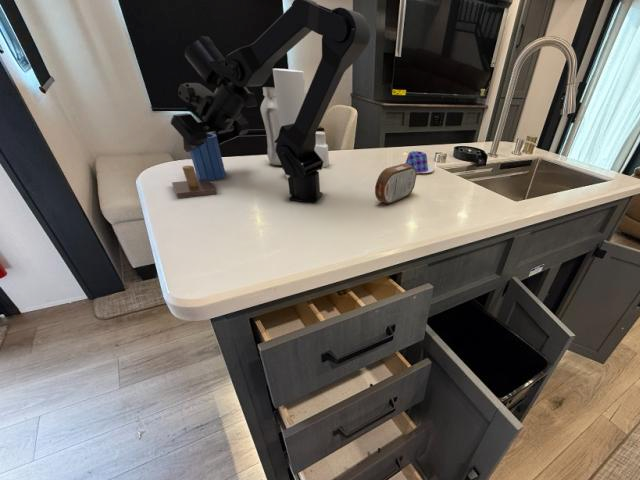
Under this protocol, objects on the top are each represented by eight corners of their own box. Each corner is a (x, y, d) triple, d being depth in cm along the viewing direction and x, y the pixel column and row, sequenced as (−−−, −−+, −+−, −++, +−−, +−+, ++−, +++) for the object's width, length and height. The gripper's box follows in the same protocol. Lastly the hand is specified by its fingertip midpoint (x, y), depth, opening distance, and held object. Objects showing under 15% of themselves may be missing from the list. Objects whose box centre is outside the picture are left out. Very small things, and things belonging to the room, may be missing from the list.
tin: (407, 191, 91) (410, 159, 86) (416, 194, 89) (420, 162, 84) (373, 205, 80) (374, 170, 75) (383, 208, 79) (385, 173, 74)
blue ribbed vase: (230, 174, 89) (221, 134, 83) (217, 181, 84) (206, 139, 78) (206, 171, 89) (195, 131, 83) (191, 178, 84) (179, 136, 78)
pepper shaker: (326, 168, 101) (325, 134, 95) (314, 166, 101) (311, 133, 95) (329, 164, 104) (327, 132, 99) (316, 163, 104) (314, 130, 98)
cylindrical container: (317, 177, 94) (310, 72, 78) (298, 182, 89) (287, 71, 73) (299, 171, 96) (289, 69, 81) (280, 176, 91) (266, 68, 76)
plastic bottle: (277, 169, 96) (267, 89, 84) (264, 163, 99) (251, 86, 87) (295, 165, 100) (287, 89, 88) (281, 160, 103) (272, 86, 91)
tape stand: (209, 183, 82) (203, 160, 79) (216, 194, 77) (210, 170, 74) (173, 187, 78) (165, 163, 75) (178, 198, 73) (169, 173, 70)
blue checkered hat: (416, 162, 115) (417, 147, 112) (441, 172, 109) (443, 155, 106) (391, 167, 109) (392, 150, 105) (416, 177, 102) (418, 159, 99)
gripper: (230, 69, 78) (205, 114, 87) (161, 69, 64) (140, 123, 73) (263, 111, 81) (236, 150, 90) (204, 120, 67) (179, 166, 76)
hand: (201, 147), depth 82 cm, fingers open, 9 cm apart
